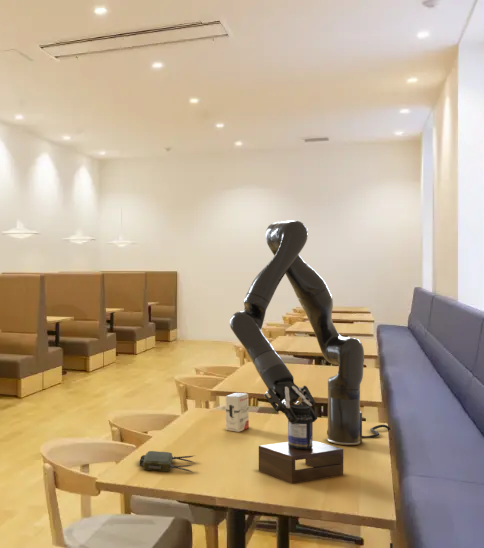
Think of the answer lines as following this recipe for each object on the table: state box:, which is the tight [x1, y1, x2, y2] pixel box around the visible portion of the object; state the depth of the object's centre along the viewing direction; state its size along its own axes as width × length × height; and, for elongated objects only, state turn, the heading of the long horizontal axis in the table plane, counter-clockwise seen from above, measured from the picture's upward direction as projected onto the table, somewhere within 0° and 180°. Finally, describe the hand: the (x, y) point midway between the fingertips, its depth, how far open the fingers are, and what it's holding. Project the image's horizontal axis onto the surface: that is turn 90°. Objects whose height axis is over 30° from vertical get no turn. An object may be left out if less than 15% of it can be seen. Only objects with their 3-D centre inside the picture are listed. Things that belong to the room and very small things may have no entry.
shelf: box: [258, 440, 344, 484], centre depth 195 cm, size 18×12×7 cm, turn 113°
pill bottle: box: [287, 404, 314, 450], centre depth 195 cm, size 6×6×11 cm
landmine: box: [139, 450, 196, 474], centre depth 203 cm, size 14×3×15 cm
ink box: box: [225, 392, 250, 433], centre depth 247 cm, size 8×5×12 cm, turn 140°
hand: (305, 421), depth 193 cm, fingers closed on pill bottle, 6 cm apart
